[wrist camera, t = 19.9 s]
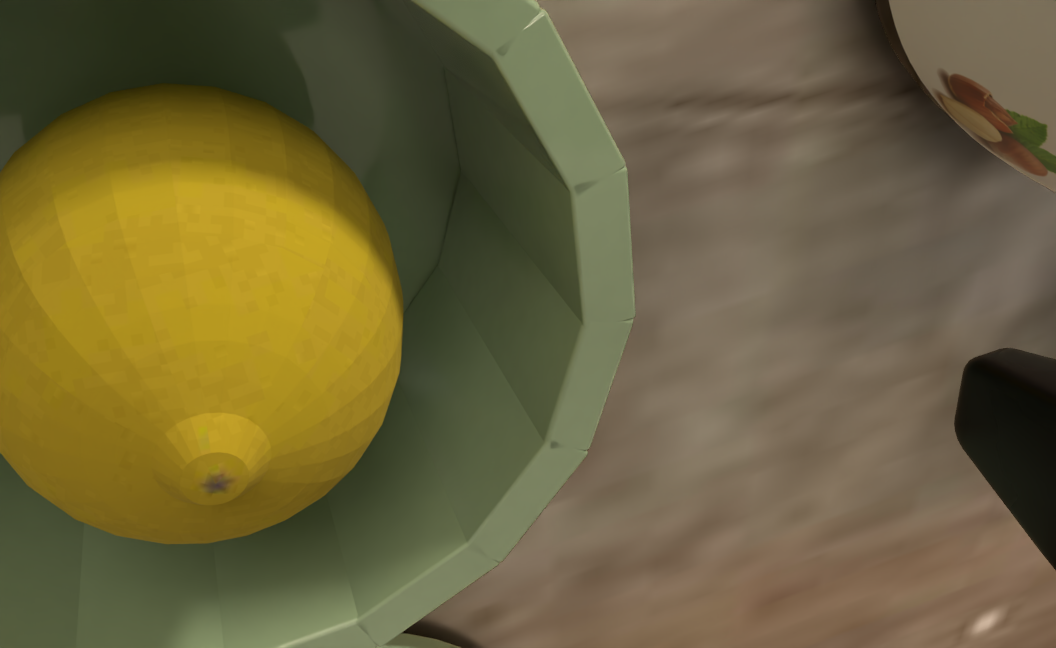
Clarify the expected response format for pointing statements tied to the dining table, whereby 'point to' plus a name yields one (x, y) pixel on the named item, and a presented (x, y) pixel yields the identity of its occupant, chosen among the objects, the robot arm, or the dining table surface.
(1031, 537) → the robot arm
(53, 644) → the crock
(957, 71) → the spread jar
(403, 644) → the crock lid
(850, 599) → the dining table surface
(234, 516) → the lemon
